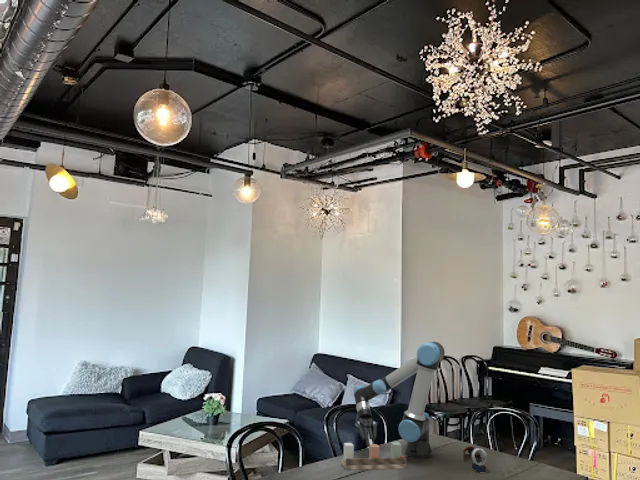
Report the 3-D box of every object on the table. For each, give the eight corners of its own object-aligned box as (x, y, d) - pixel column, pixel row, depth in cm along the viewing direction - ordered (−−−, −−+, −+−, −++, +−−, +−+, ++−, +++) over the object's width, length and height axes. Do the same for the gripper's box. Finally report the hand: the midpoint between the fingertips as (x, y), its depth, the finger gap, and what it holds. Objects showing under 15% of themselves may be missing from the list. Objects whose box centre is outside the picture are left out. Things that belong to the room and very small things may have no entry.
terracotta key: (376, 460, 246) (376, 444, 247) (379, 463, 241) (379, 447, 243) (369, 460, 245) (369, 444, 247) (372, 463, 241) (372, 447, 242)
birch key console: (399, 461, 252) (399, 450, 253) (406, 468, 242) (406, 456, 243) (341, 463, 246) (341, 451, 247) (346, 470, 236) (346, 457, 237)
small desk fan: (489, 472, 241) (488, 449, 243) (476, 473, 239) (476, 450, 240) (482, 468, 246) (481, 446, 248) (469, 469, 244) (469, 447, 245)
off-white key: (350, 458, 247) (351, 442, 248) (353, 461, 242) (353, 445, 243) (343, 458, 246) (343, 442, 247) (345, 462, 241) (346, 445, 243)
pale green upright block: (397, 457, 252) (398, 442, 253) (401, 460, 247) (401, 444, 248) (390, 457, 251) (391, 442, 252) (393, 460, 246) (394, 444, 247)
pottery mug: (485, 464, 255) (479, 451, 255) (469, 471, 256) (463, 458, 255) (479, 452, 267) (473, 439, 266) (463, 458, 268) (457, 445, 267)
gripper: (373, 415, 269) (381, 455, 251) (351, 415, 267) (358, 456, 249) (376, 408, 265) (385, 448, 247) (354, 407, 263) (361, 448, 244)
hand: (371, 452), depth 248 cm, fingers closed
